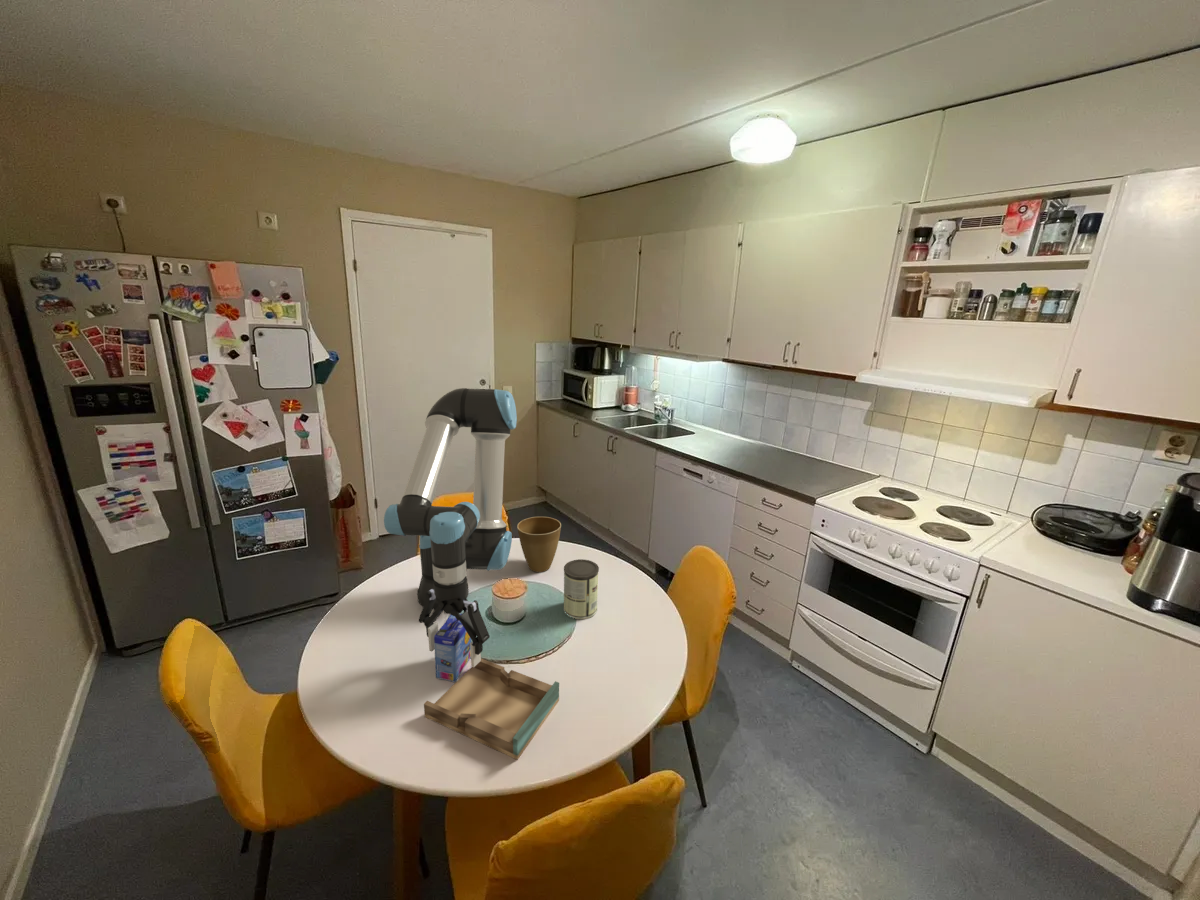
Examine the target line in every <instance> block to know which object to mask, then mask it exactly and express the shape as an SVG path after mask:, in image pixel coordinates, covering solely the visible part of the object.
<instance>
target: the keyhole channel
mask: <svg viewBox="0 0 1200 900" xmlns="http://www.w3.org/2000/svg"><path fill="white" fill-rule="evenodd" d="M559 701H560V682H558V681H556V680H555V681H554V682H553V683H552V684H549V683H547V682H545V681H541V680H539V679H536V678H534V677H532V676H528V675H526V674H523V673H520V672H517V671H515V670H512V669H511V670H509V672H507V670H506V669H505V667H504V666H502V665H499V664H498V663H494V662H491V661H488V660H486V659H485V658H481V661H480V662H479V663H478V664H477V665H476V666H475V667H471V666H470V668H469V669H468V670H467V671H466V672H465V673H464V674H463V675H462V676H461V677H460V678H459V679H457V680H456V681H455V682H454V684H453V685H451V686H450V687H449V689H447V691H446V692H445V693H443V694H442V695H441V696H440V698H438V699H437V701H435V702H434V703H433V702H431V701H429V700H426V701H425V702H423V711H424V718H427V719H429V720H430V721H433V722H435V723H437V724H439V725H441V726H444V727H445V728H448V729H450V730H452V731H455V732H456V733H459V734H461V735H462V736H465V737H467V738H469V739H471V740H474V741H476V742H478V743H480V744H483V745H484V746H487V747H489V748H490V749H493V750H495V751H497V752H499V753H502V754H504V755H506V756H508V757H509V758H513V759H515V760H517V761H518V760H519V758H520V757H521V756H522V754H523V753H524V751H525V750H526V748H527V747H528V746H529V744H530V743H531V741H532V740H533V738H535V736H536V734H537V733H538V732H539V730H540V728H541V727H542V726H543V724H544V723H545V722H546V720H547V718H548V717H549V716H550V715H551V713H552V711H553V710H554V708H555V707H556V706H557V705H558V703H559Z"/></svg>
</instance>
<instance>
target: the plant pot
mask: <svg viewBox="0 0 1200 900" xmlns="http://www.w3.org/2000/svg"><path fill="white" fill-rule="evenodd" d="M516 526H517V534H518V538H519V544H520V548H521V550H522V553H523V554H522V555H524V558H525V562H526V564H527V565H528V568H529V570H530V571H532V572H536V573H537V572H538V573H543V572H546V571H549V569H551V566H552V565H553V561H554V560H555V559H554V558H555V556H556V553H557V549H558V546H559V545H558V544H559V542H560V541H559V540H560V535H561V530H562V529H561V528H562V523H561V521H560V520H558V519H556V518H553V517H551V516H550V517H549V516H532V517H528V518H525V519H522V520H521V521H520V522H518V523H517V525H516Z"/></svg>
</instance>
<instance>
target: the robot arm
mask: <svg viewBox="0 0 1200 900" xmlns="http://www.w3.org/2000/svg"><path fill="white" fill-rule="evenodd" d="M517 421H518V418H517V408H516V401H515V398H514V395H513V394H512V393H511V392H510V391H509V390H506V389H505V390H503V389H498V388H497V389H496V388H495V389H493V388H492V389H491V388H465V387H462V388H456V389H453V390H451V391H448V392H447V393H446V394H444V395H443V396H441V397H440V398H439V399H438V400H437V401H436V402H435V403H434V404H433V405H432V406H431V408H430V410H429V412H428V413H427V415H426V418H425V420H424V425H425V428H426V430H425V432H424V435H423V437H422V438H423V439H422V441H421V444H420V446H419V449H418V452H417V454H416V457H415V460H414V463H413V466H412V469H411V473H410V475H409V478H408V481H407V483H406V486H405V488H404V492H403V494H402V498H401V500H400V501H399V502H400V503H394V504H393V503H392V504H390V505H389V506H388V507H387V508H386V510H385V512H384V517H383V524H384V525H383V527H384V528H385V530H386V533H387V534H388V533H389V534H390V535H399V536H418V537H419V545H418V547H419V555H420V556H419V557H420V567H421V578H420V581H419V582H420V583H419V585H418V588H417V593H416V595H417V596H416V597H417V603H418V604H419V605H420V606H422V609H421V612H420V615H419V617H418V622H419V623H420V624H422V623H423V624H424V627H425V629H426V636H427V638H428V648H429V650H428V651H429V652H431V653H432V652H434V651H435V645H434V636H435V635H436V633H437V632H438V631H439V623H438V622H436V621H437V619H438V618H439V617H440V616H441V615H442V613H443V612H444V613H445V614H447V615H453V616H455V617H456V619H457V620H459V621H460V622H461V623H462V625H463V627H464V628H465V630H466V631H467V633H468V635H469V636H470V638H471V643H470V648H471V658H470V663H471V665H470V668H471V667H475V666H476V665H477V664H478V663H479V662H480V661H481V659H482V656H481V655H482V654H481V653H482V652H483V651H484V650H483V649H484V647H483V645H484V643H485V642H487V640H489V639H490V633H489V631H488V628H487V626H486V623H485V621H484V619H483V616H482V614H481V612H480V607H479V601H478V600H476V599H475V600H473V601H471V600H469V601H468V599H467V598H468V596H469V593H470V591H469V590H470V589H469V584H468V577H467V576H468V575H467V574H468V573H467V570H478V571H479V570H480V571H481V570H482V571H487V572H489V571H496V570H497V571H499V570H502V569H503V568H504V567H506V564H507V563H508V559H509V556H510V553H511V552H510V551H511V547H512V542H513V538H512V537H513V534H512V533H513V532H511V531H509V530H507V528H508V527H507V524H506V522H505V521H504V520H503V499H504V497H503V495H504V472H505V471H504V470H505V469H504V468H505V451H506V448H505V446H506V440H507V439H508V438H509V437H510V436H511V430H515V429H516V428H517ZM460 428H470V434H471V435H472V436H473V437H474V438H475V451H474V452H475V454H474V476H473V477H474V479H473V497H472V498H473V500H472V502H473V503H471V502H469V501H461V502H459V503H456V504H455V505H454V506H444V505H443V506H441V505H439V506H436V505H433V502H434V498H435V496H436V492H437V489H438V485H439V483H440V480H441V476H442V472H443V470H444V467H445V463H446V460H447V457H448V454H449V450H450V449H451V448H450V447H451V445H452V441H453V439H454V437H455V436H457V434H458V433H459V430H460ZM432 610H434V611H433V612H432ZM461 613H462V614H461ZM460 614H461V615H460Z"/></svg>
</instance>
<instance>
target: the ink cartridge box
mask: <svg viewBox="0 0 1200 900" xmlns="http://www.w3.org/2000/svg"><path fill="white" fill-rule="evenodd" d="M459 614H460V615H461V614H463V612H461V613H459ZM471 642H472V640H471V638H470V636H469V635H468V633H467V631H466V630H465V628H464V627H463V625H462V623H461V622H460V621H459V620H457V619H456V617H455V616H453V615H451V614H449V616H448V617H447V619H446V620H445V622H444V623H443V624H442V625H441V627H440V628H438V632H437V633H436V635H435V636H434V645H435V649H434V662H435V663H434V664H435V665H434V666H435V678H436V679H440V680H444V681H448V682H453V683H456V682H457V681H458V678H459V677H460V674H461V673H462V672H463V670H464V668H465V667H466V666H467V664H468V663H469V661H470V660H471V648H470V643H471Z"/></svg>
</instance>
